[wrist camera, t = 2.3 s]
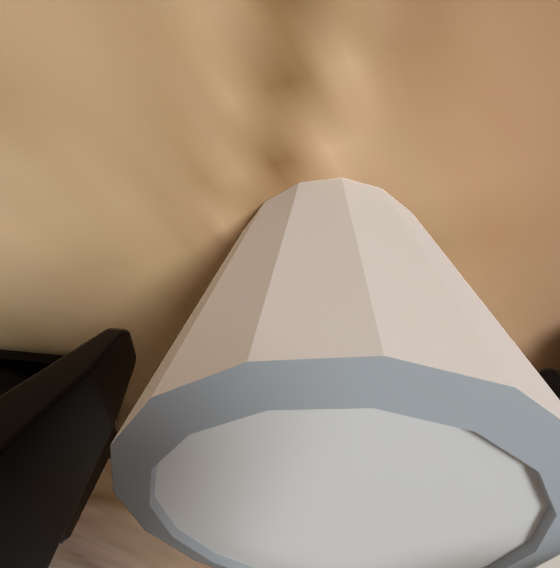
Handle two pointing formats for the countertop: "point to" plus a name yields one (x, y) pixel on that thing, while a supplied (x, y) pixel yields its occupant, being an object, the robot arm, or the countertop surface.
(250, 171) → the countertop surface
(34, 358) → the robot arm
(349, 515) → the shot glass
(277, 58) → the countertop surface
